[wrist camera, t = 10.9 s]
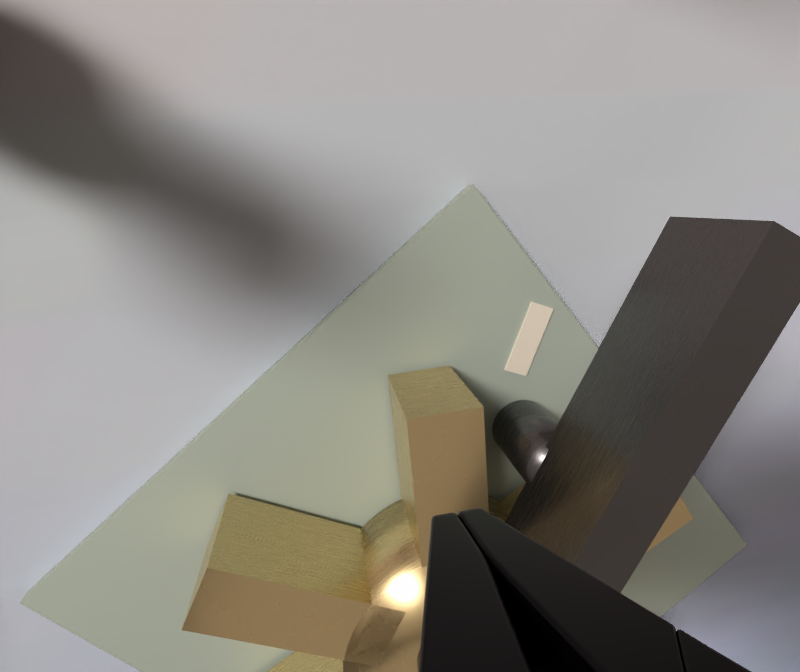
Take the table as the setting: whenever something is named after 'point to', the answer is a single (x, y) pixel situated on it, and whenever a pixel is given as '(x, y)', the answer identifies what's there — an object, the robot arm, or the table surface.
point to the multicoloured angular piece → (519, 462)
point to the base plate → (352, 442)
